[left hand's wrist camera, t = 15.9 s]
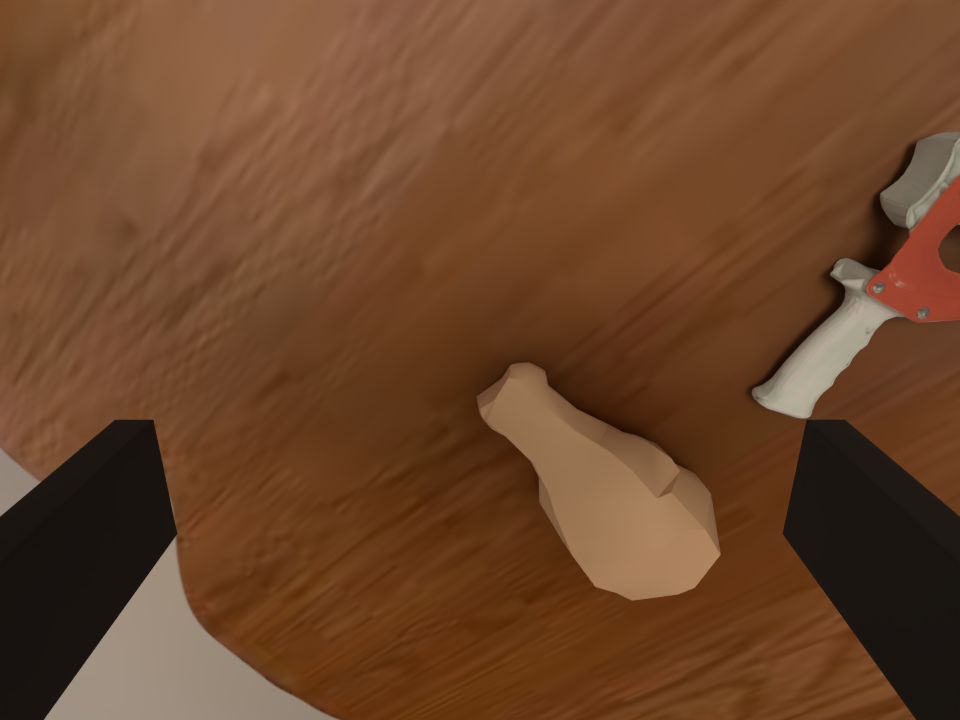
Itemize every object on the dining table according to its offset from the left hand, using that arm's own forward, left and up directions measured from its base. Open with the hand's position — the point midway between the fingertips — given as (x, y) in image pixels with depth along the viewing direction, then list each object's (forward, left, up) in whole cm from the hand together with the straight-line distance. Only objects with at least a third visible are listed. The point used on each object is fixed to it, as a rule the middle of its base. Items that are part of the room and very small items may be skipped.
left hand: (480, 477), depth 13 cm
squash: (-7, -18, -31) cm, 36 cm away
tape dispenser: (+17, -21, -31) cm, 42 cm away
